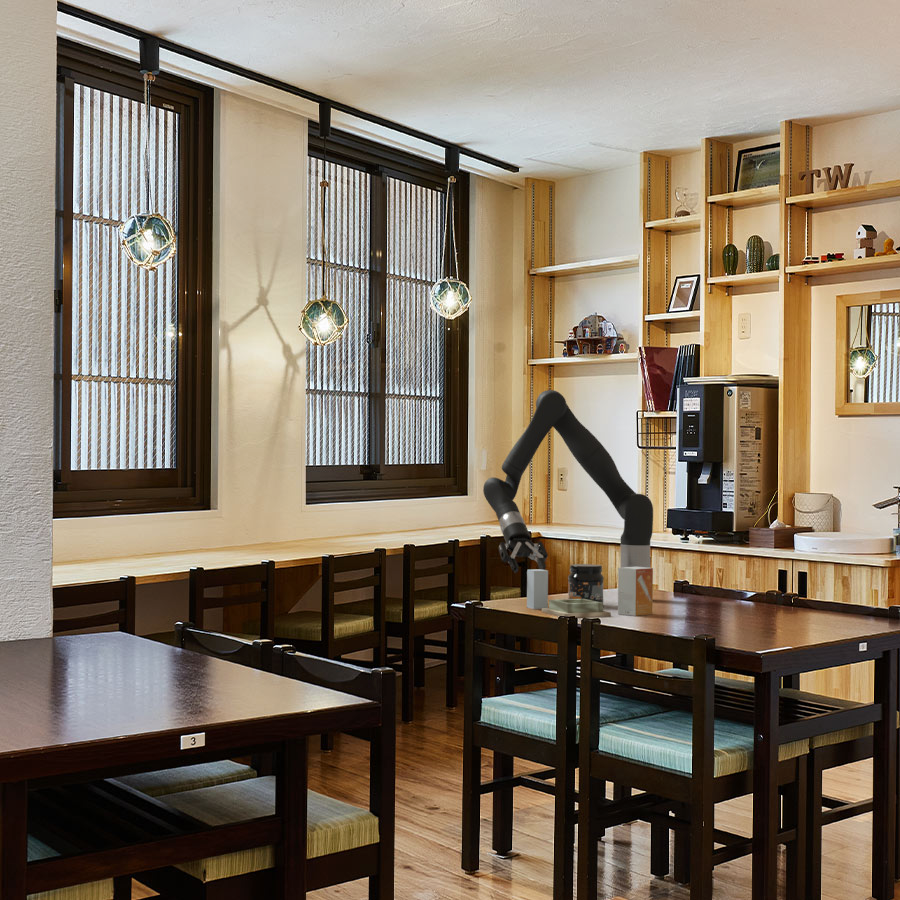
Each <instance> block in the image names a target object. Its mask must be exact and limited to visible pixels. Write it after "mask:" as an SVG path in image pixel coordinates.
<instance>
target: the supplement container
mask: <svg viewBox="0 0 900 900" xmlns="http://www.w3.org/2000/svg"><path fill="white" fill-rule="evenodd" d="M569 572H570V574H568V576H567V579H568V583H567V584H568V588H567V589H568V596H567V597H568V599H587V600H592V601H597V602H601V603H603V604H604V580H605V578H604V575H603V574H602V572H603V566H602V565H601V564H594V563H593V564H592V563H590V564H589V563H588V564H587V563H576V564H575V563H574V564H570V565H569Z"/></svg>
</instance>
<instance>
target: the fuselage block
mask: <svg viewBox="0 0 900 900" xmlns="http://www.w3.org/2000/svg"><path fill="white" fill-rule="evenodd" d="M548 598H549V570H547V569H545V570H542V569H539V568H538V569H535V568H534V569H527V571H526V608H528V609H531V610H542V608H549V599H548Z"/></svg>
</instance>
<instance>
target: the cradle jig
mask: <svg viewBox="0 0 900 900" xmlns="http://www.w3.org/2000/svg"><path fill="white" fill-rule="evenodd" d="M541 612H542V613H544V614H548V615H553V616H556V617H560V616H575V618H595V617H598V618H599V617H611V616H612V615H611V612H610V611H605V610H604V602H603V603H601V602H597V601H592V600H587V599H567V598H564V599H548V608H542V609H541Z"/></svg>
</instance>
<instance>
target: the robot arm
mask: <svg viewBox="0 0 900 900" xmlns="http://www.w3.org/2000/svg"><path fill="white" fill-rule="evenodd" d="M535 406H536V407H535V411H534V412H533V413H534V414H533V415H532V418H531V420H530V422H529V424H528V425H527V427H526V429H525V431H524V432H523V433H522V435H521V436H520V437H519V438H518V439H517V441H516V443H515V444H514V446H513V447H512V448H511V450H510V451H509V453H508V455H507V456H506V458H505V460H504V461H503V463H502V465H501V470H502V472H503V473H504V474H505V475H506V477H505V481H504V480H503V479H500V478H498V477H490V478H488V479H487V480H486V481H485V482H484V484H483V490H482V491H483V495H484V498H485V500H486V501H487V503H488V504H489V506H490V507H491V508H492V510H493V511H494V512H495V515H496V517H497V519H498V524H499V527H500V530H501V533H502V536H503V538H504V541H505V542H504V541H501V542H500V543H499V545H498V552H499V555H500V559H501V561H502V562H504V563H506V562H507V563H508V564H509V565H510V569H511V570H512V572H514V573H515V574H516V573H518V571H519V569H520V567H519V564H518V562H517V559H516V557H518V558H523V557H524V558H529V559H530V560H533V561H535V562H536V564H537V567H538V569H542V570H546V568H547V565H546V563H545V562H546V560H547V559H548V557H549V554H548V552H547V550H546V548H545V545H544V544H543V542H542V541H538V543H534V542H533V541H532V540H531V535H530V532H529V531H528V528H527V525H526V523H525V520H524V518H523V516H522V515H521V512H520V509H519V506H518V505H517V503H516V502H515V501H514V500H515V498H516V496H517V493H518V490H519V487H520V483H521V479H522V476H523V474H524V472H526V470H527V468H528V467H529V464H530V463H531V461H532V459H533V457H534V456H535V454H536V452H537V450H539V449H538V448H539V447H540V445H541V444H542V442H543V441H544V439H545V438H546V436H547V434H548V433H549V432H550V430H551V429H552V428H553V429H554V430H555V431H556V432H557V433H558V434H559V436H560V437H561V438H562V440H563V441H564V444H565V445H566V446H567V448H568V450H569V451H570V452H571V454H572V456H573V457H574V459H575V460H576V461H577V462H578V463H579V465H580V466H581V467H582V469H583V470H584V471H585V472H586V473H587V474H588V476H589V477H590V478H591V479H592V480H593V481H594V482H595V484H596V485H597V486H598V488H600V490H602V491H603V492H604V494H605V496H607V498H608V499H609V501H610V503H611V504H612V505H613V507H614V509H615V510H616V512H617V513H618V515H619V516H620V517H621V518H622V520H623V521H624V522H623V523H624V524H623V525H624V527H623V532H622V534H621V536H620V557H619V559H620V563H619V564H620V565H619V566H620V567H619V568H624V567H647V568H651V540H652V537H653V531H654V529H653V528H654V505H653V502H652V501H651V499H650V498H649V497H648V496H647V495H645V494H642V493H637V492H635V491H634V490H633V489H632V488H631V487H630V486H629V484H627V482H626V481H625V479H624V478H623V477H622V476H621V474H620V472H619V470H618V467H617V465H616V463H615V461H614V459H613V458H612V456H611V454H610V452H608V451H607V449H606V448H605V446H604V445H603V444H602V443H601V442H600V440H598V438H597V437H596V436H595V435H594V434H593V433H592V432H591V431H590V430H589V429H588V428H587V427H585V426H584V425H583V424H582V422H580V420H578V418H577V417H576V416H575V414H574V413H573V411H572V410H571V409H570V406H568V404H567V400H566V398H565V397H564V396H563V395H562V393H560V392H559V391H557V390H554V389H547V390H544V391H542V392H541V393H539V394H538V396H537V399H536V400H535ZM508 551H510V552H511V554H510V555H509V553H508Z"/></svg>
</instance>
